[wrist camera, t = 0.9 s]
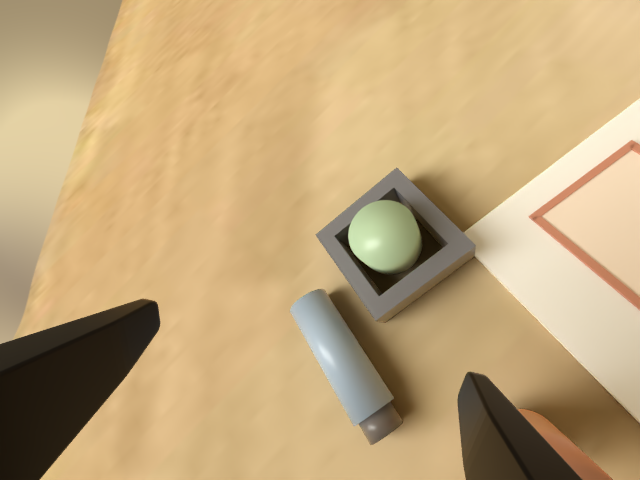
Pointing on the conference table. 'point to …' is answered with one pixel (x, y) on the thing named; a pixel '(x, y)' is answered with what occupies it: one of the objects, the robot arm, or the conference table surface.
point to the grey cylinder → (346, 366)
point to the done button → (385, 237)
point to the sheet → (579, 253)
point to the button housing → (420, 279)
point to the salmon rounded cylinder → (565, 447)
